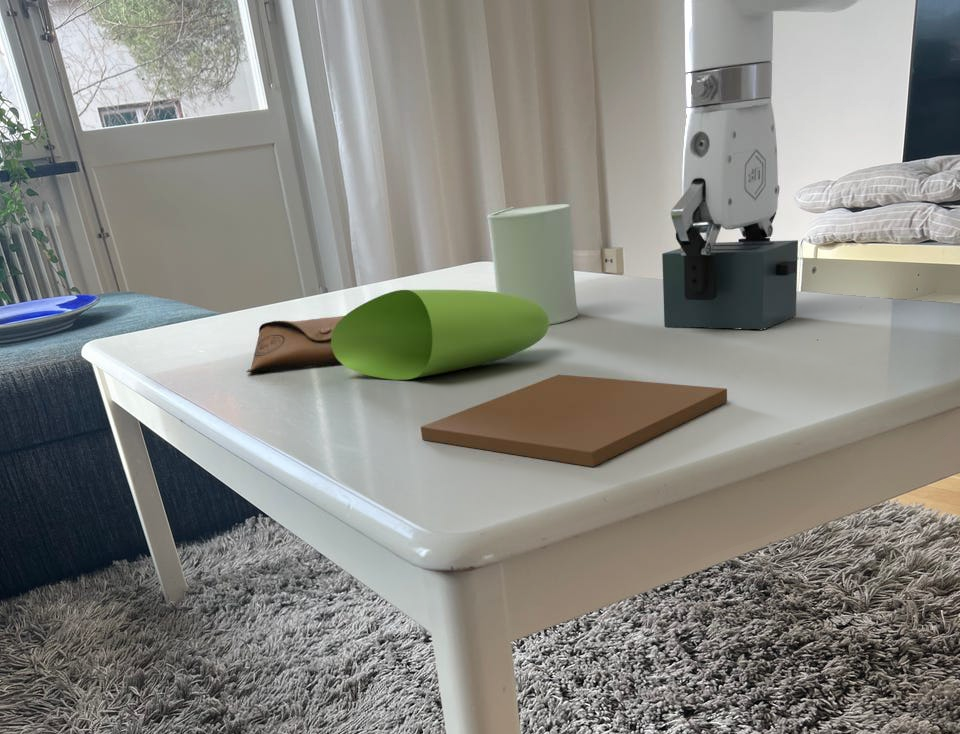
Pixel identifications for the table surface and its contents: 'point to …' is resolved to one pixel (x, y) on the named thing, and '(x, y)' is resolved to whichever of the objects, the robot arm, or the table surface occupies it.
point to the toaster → (736, 287)
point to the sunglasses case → (295, 344)
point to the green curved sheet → (435, 332)
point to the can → (535, 257)
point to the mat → (575, 418)
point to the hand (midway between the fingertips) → (727, 289)
